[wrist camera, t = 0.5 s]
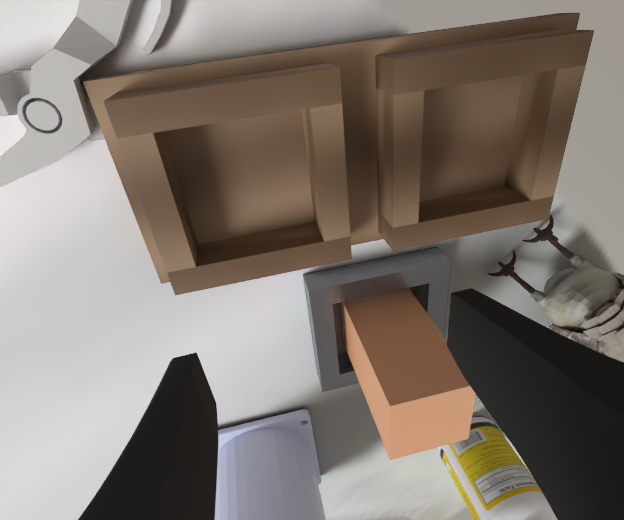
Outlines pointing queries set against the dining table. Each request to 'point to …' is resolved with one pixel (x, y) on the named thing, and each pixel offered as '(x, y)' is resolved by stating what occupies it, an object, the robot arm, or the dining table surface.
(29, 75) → the pliers
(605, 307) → the decorative bird
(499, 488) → the supplement bottle
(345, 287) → the socket
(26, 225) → the dining table surface
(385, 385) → the peg
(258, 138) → the rack
